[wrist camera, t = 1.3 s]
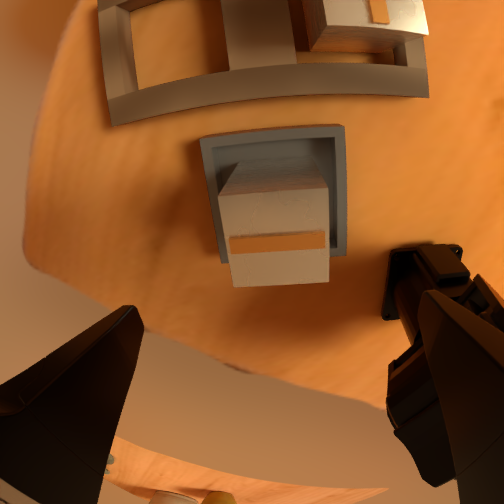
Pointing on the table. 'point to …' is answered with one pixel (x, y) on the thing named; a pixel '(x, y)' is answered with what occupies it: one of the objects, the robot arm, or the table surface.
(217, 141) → the grey tray
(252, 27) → the grey flat frame
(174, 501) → the jug
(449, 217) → the table surface
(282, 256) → the block
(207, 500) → the flower pot
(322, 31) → the block
